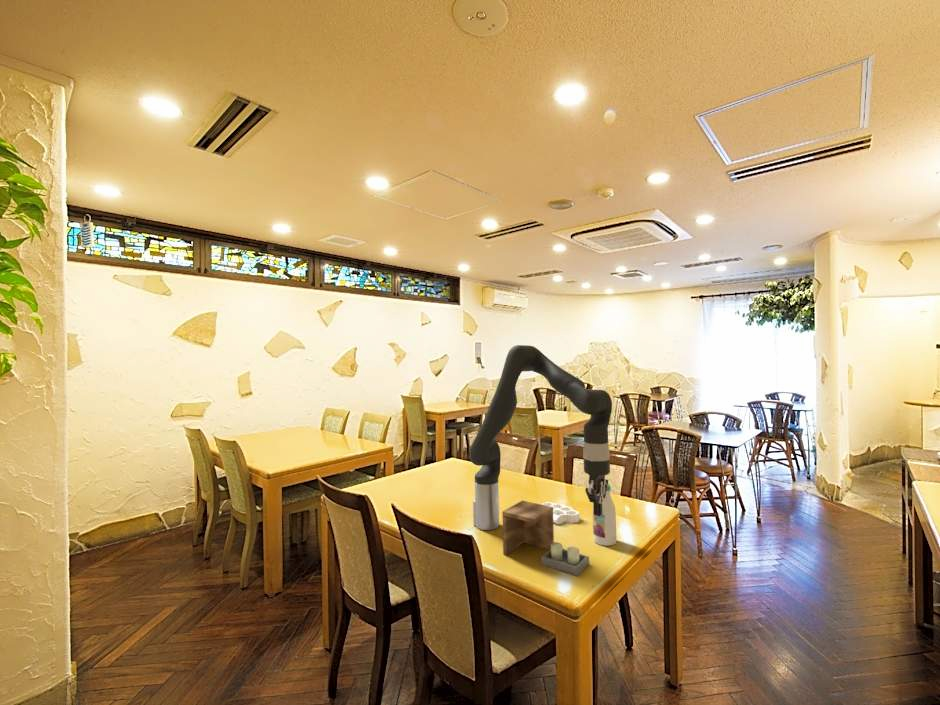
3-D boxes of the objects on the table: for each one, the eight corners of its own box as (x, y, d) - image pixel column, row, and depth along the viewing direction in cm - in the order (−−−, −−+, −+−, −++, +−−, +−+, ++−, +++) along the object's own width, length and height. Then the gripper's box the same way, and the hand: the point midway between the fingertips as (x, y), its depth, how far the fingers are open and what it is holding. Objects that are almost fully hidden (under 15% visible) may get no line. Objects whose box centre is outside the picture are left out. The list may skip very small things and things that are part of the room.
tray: (541, 565, 132) (541, 556, 132) (554, 554, 139) (554, 546, 139) (577, 577, 124) (576, 568, 124) (589, 565, 131) (589, 556, 131)
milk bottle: (611, 536, 151) (610, 481, 151) (620, 546, 143) (618, 487, 144) (590, 537, 151) (589, 481, 151) (597, 546, 143) (596, 488, 143)
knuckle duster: (528, 515, 174) (552, 507, 183) (562, 528, 160) (586, 519, 168) (528, 507, 174) (552, 499, 183) (562, 520, 160) (586, 511, 168)
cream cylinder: (548, 561, 133) (548, 545, 133) (554, 556, 136) (553, 541, 136) (559, 564, 131) (558, 548, 131) (564, 559, 134) (564, 544, 134)
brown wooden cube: (503, 554, 139) (502, 511, 139) (523, 540, 149) (522, 500, 149) (535, 564, 132) (534, 519, 132) (553, 549, 142) (552, 507, 142)
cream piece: (565, 566, 129) (565, 550, 129) (570, 561, 132) (570, 545, 132) (576, 569, 127) (576, 553, 127) (581, 565, 130) (581, 549, 130)
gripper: (592, 451, 133) (594, 506, 133) (575, 459, 122) (577, 519, 122) (616, 454, 128) (617, 511, 128) (600, 463, 118) (602, 525, 118)
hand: (598, 515), depth 125 cm, fingers closed
